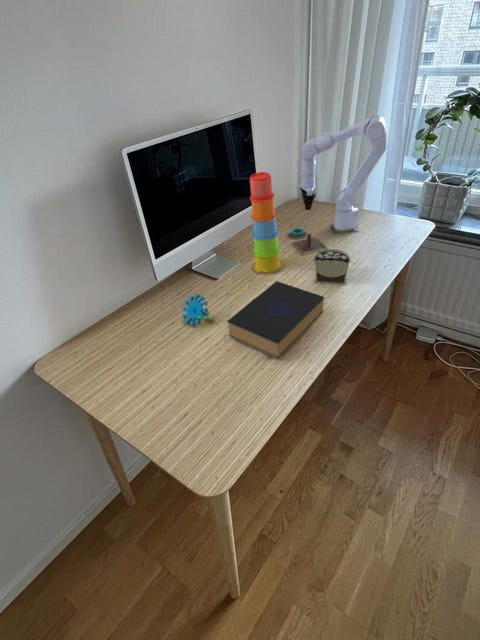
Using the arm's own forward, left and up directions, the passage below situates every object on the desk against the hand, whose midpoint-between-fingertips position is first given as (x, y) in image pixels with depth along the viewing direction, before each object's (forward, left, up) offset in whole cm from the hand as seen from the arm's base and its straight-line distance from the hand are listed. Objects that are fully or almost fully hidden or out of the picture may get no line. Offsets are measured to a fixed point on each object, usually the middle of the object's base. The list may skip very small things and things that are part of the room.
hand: (307, 206), depth 163 cm
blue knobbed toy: (+41, +65, -10) cm, 77 cm away
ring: (+5, +8, -9) cm, 13 cm away
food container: (-4, +44, -10) cm, 45 cm away
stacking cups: (+18, +34, -10) cm, 40 cm away
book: (+16, +70, -10) cm, 72 cm away
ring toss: (+1, +19, -9) cm, 21 cm away
